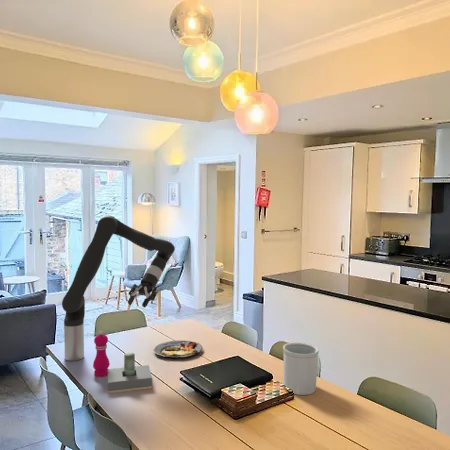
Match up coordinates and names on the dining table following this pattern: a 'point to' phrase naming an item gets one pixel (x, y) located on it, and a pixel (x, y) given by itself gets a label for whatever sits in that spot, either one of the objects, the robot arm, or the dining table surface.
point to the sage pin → (129, 364)
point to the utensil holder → (300, 367)
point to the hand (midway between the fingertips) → (136, 305)
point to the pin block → (129, 379)
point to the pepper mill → (101, 356)
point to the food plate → (178, 349)
